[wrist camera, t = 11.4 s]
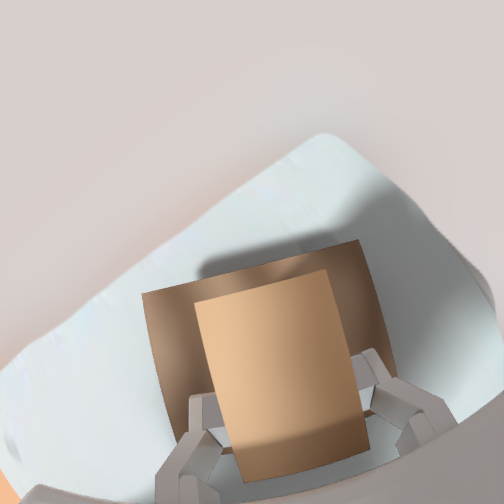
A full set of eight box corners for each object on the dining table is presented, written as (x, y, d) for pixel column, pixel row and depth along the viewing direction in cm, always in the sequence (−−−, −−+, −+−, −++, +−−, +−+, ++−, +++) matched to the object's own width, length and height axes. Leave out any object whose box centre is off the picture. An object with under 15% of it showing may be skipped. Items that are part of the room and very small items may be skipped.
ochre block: (257, 408, 16) (244, 483, 6) (234, 320, 18) (193, 303, 8) (318, 392, 16) (370, 449, 6) (295, 304, 18) (325, 268, 8)
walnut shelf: (198, 436, 23) (182, 458, 17) (166, 303, 27) (141, 293, 21) (376, 390, 24) (402, 402, 18) (340, 259, 28) (358, 239, 22)
